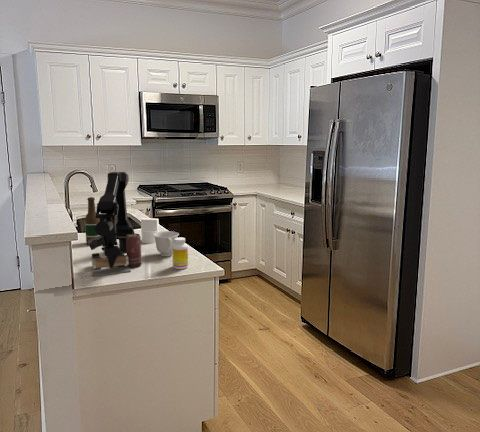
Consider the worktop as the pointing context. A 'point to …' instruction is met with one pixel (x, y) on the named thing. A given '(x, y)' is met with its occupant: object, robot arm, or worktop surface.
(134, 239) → the can
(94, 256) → the post
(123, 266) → the post
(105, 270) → the mat
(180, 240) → the supplement bottle
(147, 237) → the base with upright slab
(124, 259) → the rail
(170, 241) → the teacup
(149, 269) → the worktop surface
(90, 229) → the beer bottle
